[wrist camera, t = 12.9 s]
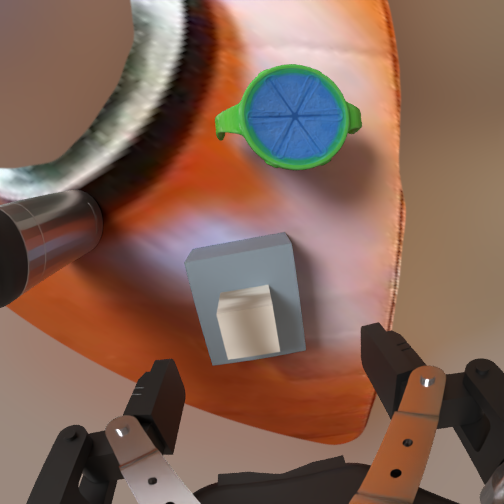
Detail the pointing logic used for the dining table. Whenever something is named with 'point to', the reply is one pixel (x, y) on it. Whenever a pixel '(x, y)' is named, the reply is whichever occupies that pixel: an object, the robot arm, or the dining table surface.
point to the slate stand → (247, 276)
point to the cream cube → (247, 322)
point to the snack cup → (292, 117)
